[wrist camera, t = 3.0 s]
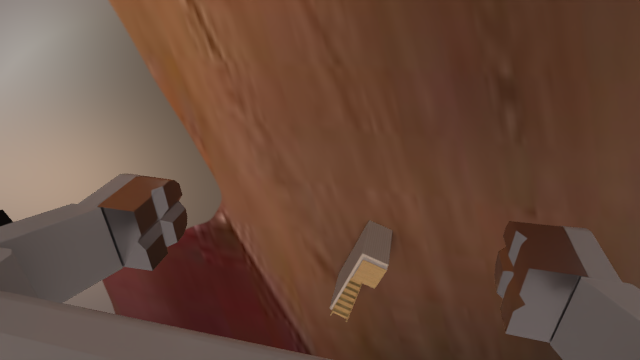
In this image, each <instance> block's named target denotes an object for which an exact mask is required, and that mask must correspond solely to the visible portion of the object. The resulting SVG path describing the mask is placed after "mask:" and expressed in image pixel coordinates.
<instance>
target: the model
mask: <svg viewBox="0 0 640 360" xmlns="http://www.w3.org/2000/svg"><path fill="white" fill-rule="evenodd" d="M391 240H392V230H390V229H388V228H386V227H383V226H381V225H379V224H377V223H374V222H372V221H370V220H369V221H368V223H367V225H366V227H365V229H364V230H363V232H362V234H361V236H360V237H359V239H358V241H357V243H356V244H355V246H354V248H353V250H352V251H351V253H350V255H349V257H348V259H347V260H346V262H345V264H344V266H343V267H342V269H341V271H340V273H339V275H338V279H337V283H336V286H335V290H334V294H333V298H332V301H331V305H330V309H331V310H332V309H333V310H332V313H335V314H337V315H339V316H342V317H344V318H346V319H347V320H348V317H349V315H350V313H351V310H352V308H353V305H354V303H355V300H356V298H357V295H358V293H359V290H360V288H361V285H362V283H363V284H365V285H368V286H370V287H372V288H374V289H375V287H376V286H377V284H378V283H379V281H380V280H381V278H382V277H383V275H384V274H385V272H386V271H387V267H388V265H389V257H390V248H391ZM332 313H331V315H332ZM331 315H330V316H331ZM347 320H346V322H347Z"/></svg>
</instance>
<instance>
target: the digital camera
mask: <svg viewBox="0 0 640 360" xmlns="http://www.w3.org/2000/svg"><path fill="white" fill-rule="evenodd" d="M10 223H13V222H12V220H11V219H10V218H9V217H8V215H7V214H6V213H5V212H4V211H3V210H0V226H3V225H6V224H10Z"/></svg>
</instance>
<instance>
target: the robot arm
mask: <svg viewBox="0 0 640 360" xmlns="http://www.w3.org/2000/svg"><path fill="white" fill-rule="evenodd" d="M181 196H182V192H181V189H180V185H179V183H177V182H176V181H175V180H170V179H163V178H156V177H149V176H140V175H134V174H120V175H118V176H117V177H115V178H114V179H113V180H111V181H110V182H108V183H107V184H105V185H104V186H103V187H101V188H100V189H98V190H97V191H96V192H94V193H93V194H91V195H90V196H88V197H87V198H86V199H84V200H83V201H81V202H80V203H79V204H70V205H66V206H63V207H60V208H57V209H54V210H51V211H47V212H44V213H41V214H38V215H35V216H32V217H29V218H25V219H22V220H19V221H16V222H13V223H10V224H6V225H3V226H0V360H331V359H326V358H322V357H317V356H312V355H307V354H303V353H298V352H293V351H288V350H283V349H279V348H274V347H269V346H264V345H260V344H255V343H250V342H245V341H240V340H236V339H231V338H226V337H221V336H217V335H212V334H207V333H202V332H197V331H193V330H188V329H183V328H178V327H173V326H169V325H164V324H159V323H154V322H150V321H145V320H140V319H135V318H130V317H126V316H121V315H116V314H111V313H107V312H102V311H97V310H92V309H87V308H83V307H78V306H73V305H68V304H64V303H63V302H65V301H67V300H68V299H70V298H72V297H73V296H75V295H77V294H78V293H80V292H82V291H84V290H85V289H87V288H89V287H91V286H92V285H94V284H96V283H98V282H99V281H101V280H103V279H105V278H106V277H108V276H110V275H112V274H113V273H115V272H117V271H118V270H120V269H122V268H123V267H130V268H137V269H144V270H151V271H153V270H154V268H155V267H156V266H157V265H158V264H159V263H160V262H161V260H162V259H163V258H164V257H165V256H166V255H167V254H168V250H167V247H168V246H170V245H172V244H174V243H177V242H178V241H179V239H180V238H181V237H182V236H183V234H184V232H185V229H186V226H187V213H186V209H185V208H184V206H183V205H182V204H181V203H180V202H179V199H180V198H181ZM503 237H504V241H505V245H506V247H504V248H503V249H501V250H500V251H499V252H498V256H497V259H496V264H495V274H494V276H495V286H496V291H497V293H498V294H499V295H500V296H501V297H502V298H503V301H502V304H501V307H500V310H501V315H502V319H503V324H504V328H505V333H506V334H510V335H515V336H520V337H525V338H530V339H535V340H540V341H545V342H550V343H551V344H550V345H551V346H552V347H553V349H554V350H555V351H556V352H557V353H558V354H559V356H560V357H561V358H562V359H563V360H640V289H638V288H637V287H635V286H634V285H632V284H629V283H622V281H621V280H620V278H619V276H618V275H617V273H616V272H615V270H614V268H613V267H612V265H611V263H610V262H609V260H608V258H607V257H606V255H605V254H604V252H603V250H602V249H601V247H600V245H599V244H598V242H597V240H596V239H595V237H594V236H593V234H592V232H591V231H590V230H588V229H586V228H577V227H566V226H552V225H542V224H532V223H523V222H513V221H509V222H508V224H507V226H506V228H505V232H504V235H503ZM122 266H123V267H122Z"/></svg>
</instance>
